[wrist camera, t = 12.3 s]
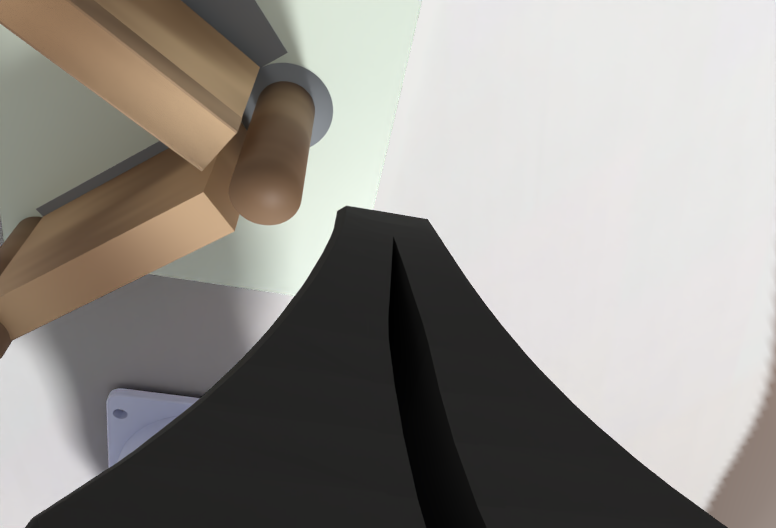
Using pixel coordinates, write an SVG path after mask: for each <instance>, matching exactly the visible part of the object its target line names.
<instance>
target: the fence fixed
mask: <svg viewBox="0 0 776 528" xmlns="http://www.w3.org/2000/svg"><path fill="white" fill-rule="evenodd" d="M314 116H315V106H314V102H313V99H312V97H311V96H310V94H309V93H308V92H307V91H306V90H305V89H304V88H303V87H301V86H300V85H298V84H295V83H293V82H288V81H279V82H275V83H272V84H270V85H268V86H267V87H266V88H264V89H263V91H262V92H261V93H260V95H259V97H258V100H257V103H256V106H255V109H254V112H253V115H252V118H251V121H250V124H249V127H248V130H246V128H245V127H244V126H243V124H242V123H241V124H240V126H239V129H238V132H237V133H236V134H235V135H234V136H233V137H232V139H231V140H230V141H229V142H228V143H227V144H226V145H225V146H224V147H223V149H222V150H221V151H220V152H219V153H218V154H217V155H216V156H215V157H214V159H213V160H212V161H211V162H210V163H209V164H208V165H207V166H206V167H205V168H204V170H203V171H200V170H199V169H198V168H196V167H195V166H194V165H192V164H191V163H190V162H188V161H187V160H185V159H184V158H183V157H181V156H180V155H179V154H177V153H176V152H174V151H173V150H172V149H170V148H168V149H166V150H164V151H163V152H161V153H159V154H157V155H155V156H153V157H152V158H150V159H148V160H146V161H144V162H142V163H141V164H139V165H137V166H135V167H133V168H131V169H129V170H128V171H126V172H124V173H122V174H120V175H118V176H117V177H115V178H113V179H111V180H109V181H107V182H106V183H104V184H102V185H100V186H98V187H96V188H95V189H93V190H91V191H89V192H87V193H85V194H84V195H82V196H80V197H78V198H76V199H74V200H73V201H71V202H69V203H67V204H65V205H63V206H62V207H60V208H58V209H56V210H54V211H52V212H50V213H49V214H47V215H45V216H43V217H28V218H25V219H23V220H22V221H20V222H19V224H18V225H17V226H16V227H15V229H14V230H13V231H12V233H11V234H10V235H9V237H8V238H7V239H6V241H5V242H4V243H3V244H2V246H1V247H0V359H1V358H2V356H3V355H4V353H5V352H6V350H7V348H8V347H9V345H10V344H11V342H12V340H14V339H16V338H18V337H20V336H22V335H24V334H26V333H29V332H31V331H33V330H35V329H37V328H39V327H41V326H43V325H45V324H47V323H49V322H51V321H53V320H55V319H57V318H59V317H61V316H63V315H65V314H67V313H69V312H71V311H73V310H75V309H77V308H79V307H82V306H84V305H86V304H88V303H90V302H92V301H94V300H96V299H98V298H100V297H102V296H104V295H106V294H108V293H110V292H112V291H114V290H116V289H118V288H120V287H122V286H124V285H126V284H128V283H130V282H132V281H135V280H137V279H139V278H141V277H143V276H145V275H147V274H149V273H151V272H153V271H155V270H157V269H159V268H161V267H163V266H165V265H167V264H169V263H171V262H173V261H175V260H177V259H179V258H181V257H183V256H186V255H188V254H190V253H192V252H194V251H196V250H198V249H200V248H202V247H204V246H206V245H208V244H210V243H212V242H214V241H216V240H218V239H220V238H222V237H224V236H226V235H228V234H230V233H232V232H234V231H235V228H236V225H237V221H238V218H239V214H240V215H241V216H242V217H244V218H245V219H247V220H248V221H251V222H253V223H256V224H260V225H277V224H281V223H283V222H286V221H288V220H289V219H290V218H292V217H293V216H294V215H295V214H296V213H297V211H298V209H299V207H300V205H301V201H302V194H303V188H304V181H305V175H306V168H307V162H308V155H309V149H310V142H311V136H312V129H313V123H314Z"/></svg>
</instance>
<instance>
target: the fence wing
mask: <svg viewBox="0 0 776 528" xmlns="http://www.w3.org/2000/svg"><path fill="white" fill-rule="evenodd" d="M0 24H1V25H3V26H4V27H5V28H7V29H8V30H9V31H11V32H12V33H14V34H15V35H16V36H18V37H19V38H20V39H22V40H23V41H24V42H26V43H27V44H29V45H30V46H31V47H33V48H34V49H35V50H37V51H38V52H39V53H41V54H42V55H44V56H45V57H46V58H48V59H49V60H50V61H52V62H53V63H54V64H56V65H57V66H59V67H60V68H61V69H63V70H64V71H65V72H67V73H68V74H69V75H71V76H72V77H74V78H75V79H76V80H78V81H79V82H80V83H82V84H83V85H84V86H86V87H87V88H89V89H90V90H91V91H93V92H94V93H95V94H97V95H98V96H99V97H101V98H102V99H104V100H105V101H106V102H108V103H109V104H110V105H112V106H113V107H114V108H116V109H117V110H119V111H120V112H121V113H123V114H124V115H125V116H127V117H128V118H129V119H131V120H132V121H134V122H135V123H136V124H138V125H139V126H140V127H142V128H143V129H144V130H146V131H147V132H149V133H150V134H151V135H153V136H154V137H155V138H157V139H158V140H159V141H161V142H162V143H164V144H165V145H166V146H168V147H169V148H170V149H172V150H173V151H174V152H176V153H177V154H179V155H180V156H181V157H183V158H184V159H185V160H187V161H188V162H190V163H191V164H192V165H194V166H195V167H196V168H198V169H199V170H200V171H203V170H204V168H205V167H206V166H207V165H208V164H209V163H210V162H211V161H212V160H213V159H214V157H215V156H216V155H217V154H218V153H219V152H220V151H221V150H222V149H223V147H224V146H225V145H226V144H227V143H228V142H229V141H230V140H231V139H232V137H233V136H234V135H235V134H236V133H237V132H238V129H239V126H240V124H241V121H242V116H243V113H244V110H245V107H246V105H247V102H248V99H249V96H250V94H251V91H252V88H253V85H254V82H255V80H256V77H257V74H258V71H259V69H260V67H259V66H258V65H257V64H256V63H255V62H253V61H252V60H251V59H250V58H249V57H247V56H246V55H245V54H244V53H243V52H242V51H240V50H239V49H238V48H237V47H236V46H234V45H233V44H232V43H231V42H230V41H229V40H227V39H226V38H225V37H224V36H223V35H221V34H220V33H219V32H218V31H217V30H216V29H214V28H213V27H212V26H211V25H210V24H208V23H207V22H206V21H205V20H204V19H203V18H201V17H200V16H199V15H198V14H197V13H195V12H194V11H193V10H192V9H191V8H190V7H188V6H187V5H186V4H185V3H184V2H182V1H181V0H0Z"/></svg>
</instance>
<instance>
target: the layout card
mask: <svg viewBox="0 0 776 528" xmlns="http://www.w3.org/2000/svg"><path fill="white" fill-rule="evenodd" d="M181 1H182V2H184V3H185V4H186V5H187V6H188V7H190V8H191V9H192V10H193V11H194V12H195V13H197V14H198V15H199V16H200V17H201V18H203V19H204V20H205V21H206V22H207V23H208V24H210V25H211V26H212V27H213V28H214V29H216V30H217V31H218V32H219V33H220V34H221V35H223V36H224V37H225V38H226V39H227V40H229V41H230V42H231V43H232V44H233V45H234V46H236V47H237V48H238V49H239V50H240V51H242V52H243V53H244V54H245V55H246V56H247V57H249V58H250V59H251V60H252V61H253V62H255V63H256V64H257V65H258V66H259V67H260V69H259V71H258V74H257V77H256V80H255V82H254V85H253V88H252V91H251V94H250V96H249V99H248V102H247V105H246V107H245V110H244V113H243V116H242V121H241V123H242V124H243V126H244V127H245V128H246V130H248V127H249V124H250V121H251V118H252V115H253V112H254V109H255V106H256V103H257V100H258V97H259V95H260V93H261V92H262V91H263V89H264V88H266V87H267V86H268V85H270V84H272V83H275V82H279V81H288V82H293V83H295V84H298V85H300V86H301V87H303V88H304V89H305V90H306V91H307V92H308V93H309V94H310V96H311V97H312V99H313V102H314V106H315V116H314V123H313V129H312V136H311V142H310V149H309V155H308V162H307V168H306V175H305V181H304V188H303V194H302V201H301V205H300V207H299V209H298V211H297V213H296V214H295V215H294V216H293V217H292V218H290V219H289V220H288V221H286V222H283V223H281V224H277V225H260V224H256V223H253V222H251V221H248V220H247V219H245V218H244V217H242V216H241V215H240V214H239V218H238V221H237V225H236V228H235V231H234V232H232V233H230V234H228V235H226V236H224V237H222V238H220V239H218V240H216V241H214V242H212V243H210V244H208V245H206V246H204V247H202V248H200V249H198V250H196V251H194V252H192V253H190V254H188V255H186V256H183V257H181V258H179V259H177V260H175V261H173V262H171V263H169V264H167V265H165V266H163V267H161V268H159V269H157V270H155V271H153V272H151V273H149V274H151V275H157V276H164V277H171V278H177V279H184V280H191V281H197V282H204V283H211V284H217V285H224V286H231V287H237V288H244V289H251V290H258V291H264V292H271V293H278V294H284V295H291V296H295V295H296V294H297V292H298V291H299V290H300V288H301V287H302V285H303V284H304V282H305V281H306V279H307V278H308V276H309V275H310V273H311V271H312V270H313V268H314V266H315V265H316V263H317V261H318V260H319V258H320V256H321V255H322V253H323V251H324V249H325V247H326V245H327V243H328V241H329V239H330V237H331V234H332V232H333V229H334V224H335V219H336V214H337V211H338V210H340V209H341V208H343V207H345V206H352V207H358V208H364V209H370V210H373V209H374V204H375V200H376V196H377V192H378V187H379V183H380V179H381V174H382V170H383V166H384V162H385V157H386V153H387V149H388V144H389V140H390V136H391V132H392V127H393V123H394V119H395V114H396V110H397V106H398V102H399V97H400V93H401V89H402V84H403V80H404V76H405V71H406V67H407V63H408V59H409V54H410V50H411V46H412V41H413V37H414V33H415V29H416V24H417V20H418V16H419V11H420V7H421V3H422V0H181ZM168 148H169V147H168V146H166V145H165V144H164V143H162V142H161V141H159V140H158V139H157V138H155V137H154V136H153V135H151V134H150V133H149V132H147V131H146V130H144V129H143V128H142V127H140V126H139V125H138V124H136V123H135V122H134V121H132V120H131V119H129V118H128V117H127V116H125V115H124V114H123V113H121V112H120V111H119V110H117V109H116V108H114V107H113V106H112V105H110V104H109V103H108V102H106V101H105V100H104V99H102V98H101V97H99V96H98V95H97V94H95V93H94V92H93V91H91V90H90V89H89V88H87V87H86V86H84V85H83V84H82V83H80V82H79V81H78V80H76V79H75V78H74V77H72V76H71V75H69V74H68V73H67V72H65V71H64V70H63V69H61V68H60V67H59V66H57V65H56V64H54V63H53V62H52V61H50V60H49V59H48V58H46V57H45V56H44V55H42V54H41V53H39V52H38V51H37V50H35V49H34V48H33V47H31V46H30V45H29V44H27V43H26V42H24V41H23V40H22V39H20V38H19V37H18V36H16V35H15V34H14V33H12V32H11V31H9V30H8V29H7V28H5V27H4V26H3V25H1V24H0V216H1V224H2V231H3V239H4V242H5V241H6V239H7V238H8V237H9V235H10V234H11V233H12V231H13V230H14V229H15V227H16V226H17V225H18V224H19V222H20V221H22V220H23V219H25V218H28V217H43V216H45V215H47V214H49V213H50V212H52V211H54V210H56V209H58V208H60V207H62V206H63V205H65V204H67V203H69V202H71V201H73V200H74V199H76V198H78V197H80V196H82V195H84V194H85V193H87V192H89V191H91V190H93V189H95V188H96V187H98V186H100V185H102V184H104V183H106V182H107V181H109V180H111V179H113V178H115V177H117V176H118V175H120V174H122V173H124V172H126V171H128V170H129V169H131V168H133V167H135V166H137V165H139V164H141V163H142V162H144V161H146V160H148V159H150V158H152V157H153V156H155V155H157V154H159V153H161V152H163V151H164V150H166V149H168Z"/></svg>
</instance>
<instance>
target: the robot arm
mask: <svg viewBox="0 0 776 528" xmlns="http://www.w3.org/2000/svg"><path fill="white" fill-rule="evenodd" d="M106 409H107V438H108V467H109V468H108V469H107V470H105V471H104V472H102V473H101V474H99V475H98V476H96V477H95V478H93V479H91V480H90V481H88V482H87V483H85V484H84V485H82V486H81V487H79V488H78V489H76V490H75V491H73V492H72V493H70V494H69V495H67V496H66V497H64V498H62V499H61V500H59V501H58V502H56V503H55V504H53V505H52V506H50V507H49V508H47V509H46V510H44V511H42V512H41V513H39V514H38V515H36V516H35V517H33V518H32V519H31V520H30V522H29V523H28V524H27V526H26V527H25V528H727V527H726V526H725V525H723V524H722V523H720V522H719V521H718V520H716V519H715V518H713V517H712V516H711V515H709V514H708V513H707V512H705V511H704V510H703V509H701V508H700V507H698V506H697V505H696V504H694V503H693V502H692V501H690V500H689V499H687V498H686V497H685V496H683V495H682V494H681V493H679V492H678V491H677V490H675V489H674V488H672V487H671V486H670V485H669V484H667V483H666V482H665V481H663V480H662V479H661V478H660V477H658V476H657V475H656V474H655V473H653V472H652V471H651V470H649V469H648V468H647V467H646V466H644V465H643V464H642V463H641V462H639V461H638V460H637V459H636V458H634V457H633V456H632V455H631V454H630V453H629V452H627V451H626V450H625V449H624V448H623V447H622V446H620V445H619V444H618V443H617V442H616V441H615V440H613V439H612V438H611V437H610V436H609V435H608V434H606V433H605V432H604V431H603V430H602V429H601V428H599V427H598V426H597V425H596V424H595V423H594V422H593V421H592V420H591V419H590V418H588V417H587V416H586V415H585V414H584V413H583V412H582V411H581V410H580V409H579V408H578V407H577V406H576V405H574V404H573V403H572V402H571V401H570V400H569V399H568V397H567V396H566V395H565V394H564V393H563V392H562V391H561V390H560V389H559V388H558V387H557V386H556V385H555V384H554V383H553V382H552V381H551V380H550V379H549V378H548V377H547V376H546V375H545V374H544V373H543V372H542V371H541V370H540V369H539V368H538V367H537V366H536V365H535V364H534V362H533V361H532V360H531V359H530V358H529V357H528V356H527V355H526V354H525V352H524V351H523V350H522V349H521V348H520V346H519V345H518V344H517V343H516V342H515V340H514V339H513V338H512V337H511V336H510V335H509V333H508V332H507V331H506V330H505V329H504V327H503V326H502V325H501V324H500V322H499V321H498V320H497V319H496V317H495V316H494V315H493V313H492V312H491V311H490V310H489V308H488V307H487V306H486V304H485V303H484V302H483V300H482V299H481V298H480V296H479V295H478V293H477V292H476V291H475V289H474V288H473V286H472V285H471V284H470V282H469V281H468V279H467V278H466V277H465V275H464V274H463V272H462V271H461V269H460V268H459V266H458V265H457V263H456V262H455V260H454V259H453V257H452V256H451V254H450V253H449V251H448V249H447V248H446V246H445V245H444V243H443V242H442V240H441V239H440V237H439V236H438V234H437V233H436V231H435V230H434V228H433V227H432V225H431V224H430V222H429V221H428V219H423V218H417V217H411V216H405V215H399V214H393V213H387V212H381V211H376V210H370V209H364V208H358V207H352V206H345V207H343V208H341V209H340V210H338V211H337V214H336V219H335V224H334V229H333V232H332V234H331V237H330V239H329V241H328V243H327V245H326V247H325V249H324V251H323V253H322V255H321V256H320V258H319V260H318V261H317V263H316V265H315V266H314V268H313V270H312V271H311V273H310V275H309V276H308V278H307V279H306V281H305V282H304V284H303V285H302V287H301V288H300V290H299V291H298V292H297V294H296V295H295V296H294V298H293V299H292V300H291V302H290V303H289V304H288V306H287V307H286V308H285V310H284V311H283V312H282V314H281V315H280V316H279V318H278V319H277V320H276V321H275V322H274V324H273V325H272V326H271V327H270V328H269V330H268V331H267V332H266V333H265V334H264V335H263V337H262V338H261V339H260V340H259V341H258V342H257V343H256V344H255V345H254V346H253V347H252V349H251V350H250V351H249V352H248V353H247V354H246V355H245V356H244V357H243V358H242V359H241V360H240V361H239V362H238V363H237V364H236V365H235V366H234V367H233V368H232V369H231V370H230V371H229V372H228V373H227V374H226V375H225V376H224V377H222V378H221V379H220V380H219V381H218V382H217V383H216V384H215V385H214V386H213V387H212V388H211V389H210V390H209V391H208V392H206V393H205V394H204V395H203V396H202V397H201V398H195V397H187V396H179V395H171V394H163V393H155V392H148V391H140V390H132V389H124V388H117V389H114V390H112V391H111V392H110V393H109V396H108V398H107V401H106ZM119 409H121V410H119ZM122 410H124V411H122Z"/></svg>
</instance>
